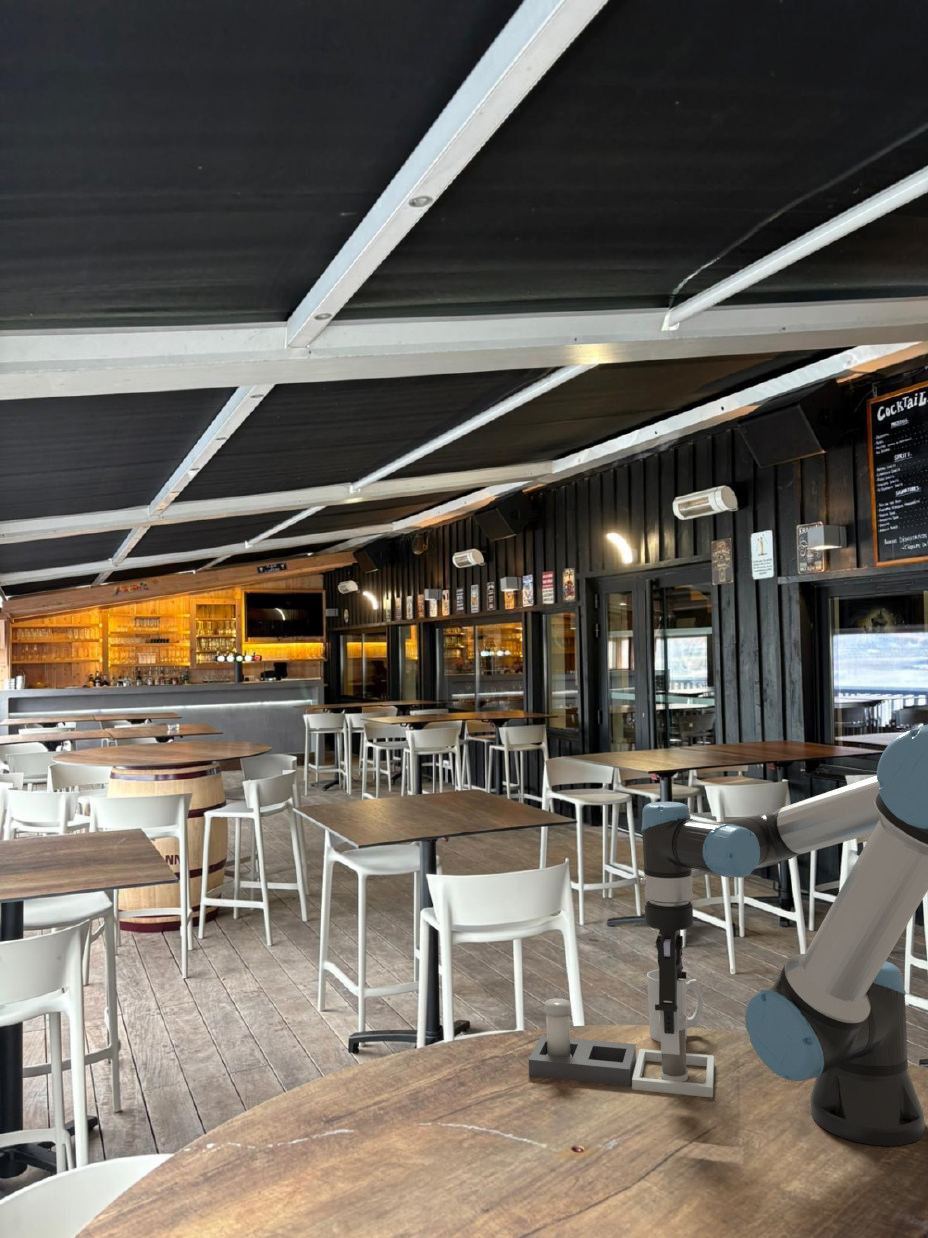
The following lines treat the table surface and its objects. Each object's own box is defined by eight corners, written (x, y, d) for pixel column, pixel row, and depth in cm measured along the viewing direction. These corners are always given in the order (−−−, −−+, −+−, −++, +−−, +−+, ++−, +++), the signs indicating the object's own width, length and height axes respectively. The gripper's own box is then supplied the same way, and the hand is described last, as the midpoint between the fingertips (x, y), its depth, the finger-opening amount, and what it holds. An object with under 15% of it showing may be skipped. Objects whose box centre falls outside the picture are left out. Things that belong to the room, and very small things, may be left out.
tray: (714, 1074, 150) (713, 1055, 150) (713, 1107, 139) (712, 1087, 139) (640, 1066, 153) (639, 1049, 154) (632, 1099, 142) (632, 1079, 142)
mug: (657, 1054, 158) (654, 983, 159) (643, 1039, 165) (641, 970, 166) (712, 1049, 160) (709, 978, 161) (696, 1034, 166) (694, 966, 167)
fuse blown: (688, 1076, 147) (686, 1012, 148) (687, 1088, 143) (685, 1022, 144) (662, 1074, 149) (659, 1010, 149) (660, 1085, 145) (657, 1020, 145)
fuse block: (636, 1069, 153) (635, 1044, 153) (630, 1096, 143) (629, 1069, 143) (541, 1059, 157) (540, 1035, 157) (529, 1085, 147) (528, 1059, 148)
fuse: (574, 1061, 153) (572, 999, 153) (569, 1071, 149) (568, 1008, 149) (549, 1058, 154) (547, 997, 154) (544, 1069, 150) (542, 1006, 150)
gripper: (651, 882, 161) (655, 1006, 159) (637, 919, 137) (641, 1066, 136) (695, 884, 159) (699, 1010, 157) (689, 922, 135) (694, 1071, 133)
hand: (673, 1036), depth 146 cm, fingers open, 13 cm apart
